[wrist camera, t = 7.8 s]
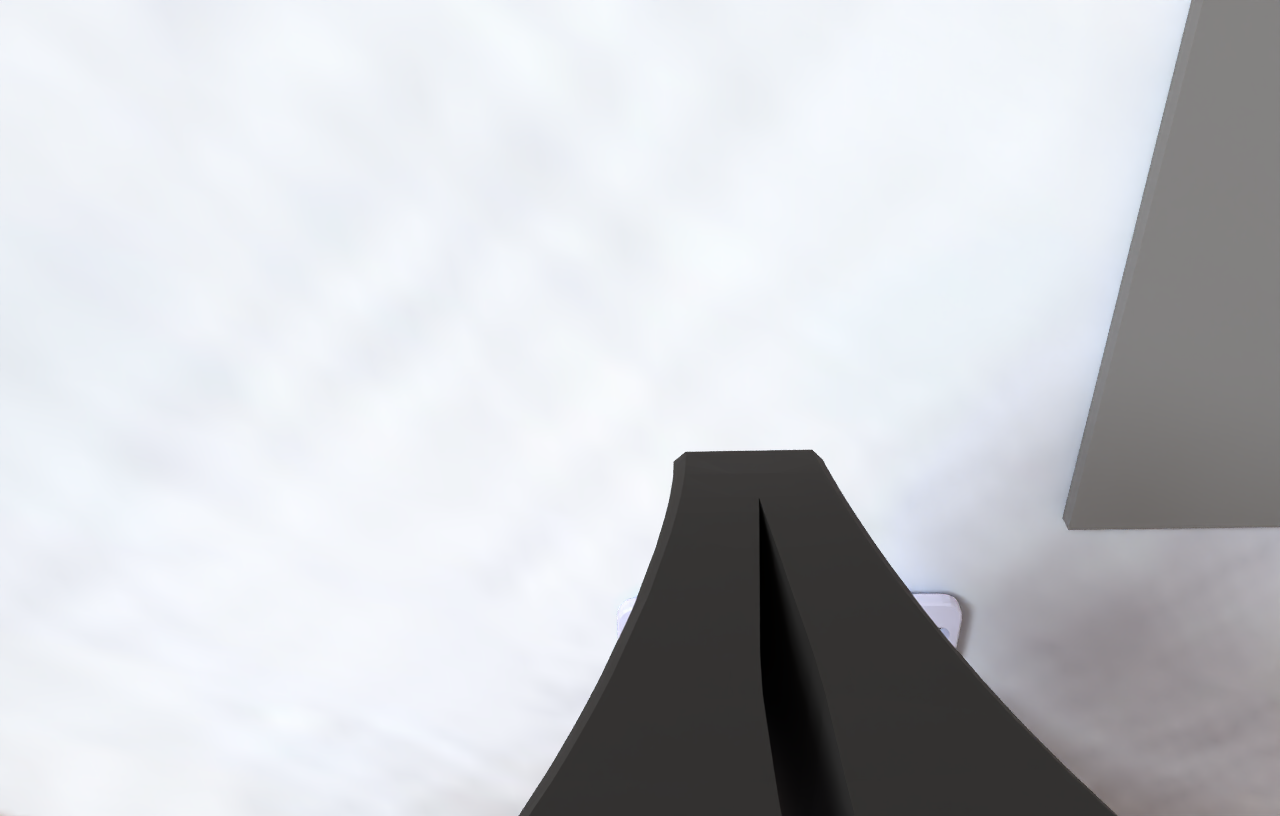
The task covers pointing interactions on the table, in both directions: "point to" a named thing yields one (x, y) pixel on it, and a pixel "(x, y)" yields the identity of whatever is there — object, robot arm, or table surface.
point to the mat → (1198, 301)
